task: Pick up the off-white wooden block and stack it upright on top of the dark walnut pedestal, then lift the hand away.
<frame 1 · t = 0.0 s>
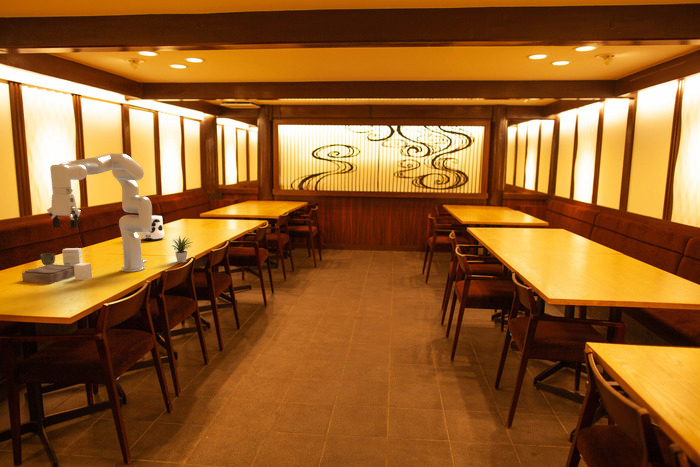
hand: (65, 227, 214), 31 cm above the table, tool pointing down, fingers open, 9 cm apart
block: (83, 278, 242), on the table
milk container: (152, 239, 356), on the table
pedestal: (52, 277, 243), on the table
cup: (49, 267, 266), on the table
ink box: (73, 269, 263), on the table
house plant: (181, 262, 283), on the table
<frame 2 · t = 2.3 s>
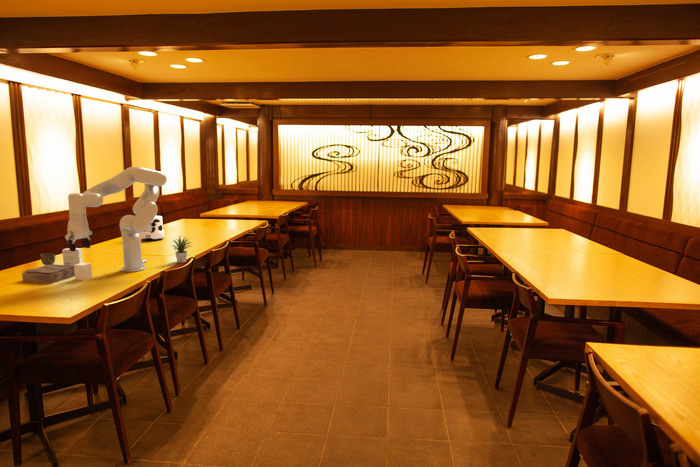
hand: (80, 249, 239), 16 cm above the table, tool pointing down, fingers open, 9 cm apart
nothing on the table moved.
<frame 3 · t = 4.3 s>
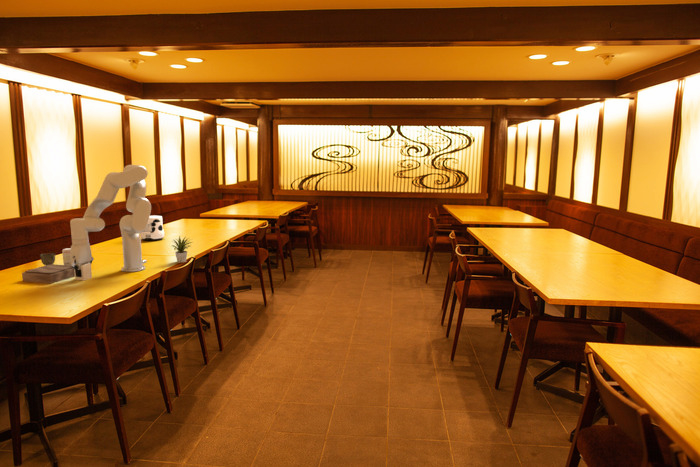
hand: (83, 274, 242), 2 cm above the table, tool pointing down, fingers closed on block, 5 cm apart
block: (83, 278, 242), on the table, touching gripper
everything else where it was.
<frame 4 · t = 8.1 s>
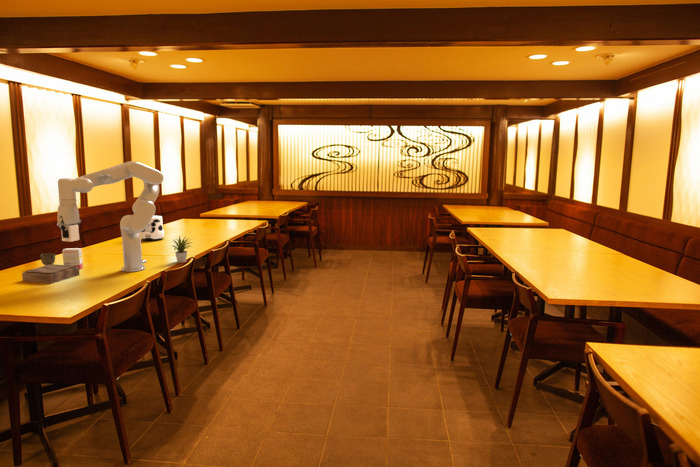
hand: (70, 236, 238), 23 cm above the table, tool pointing down, fingers closed on block, 5 cm apart
block: (70, 240, 239), point 21 cm above the table, touching gripper
everything else where it was.
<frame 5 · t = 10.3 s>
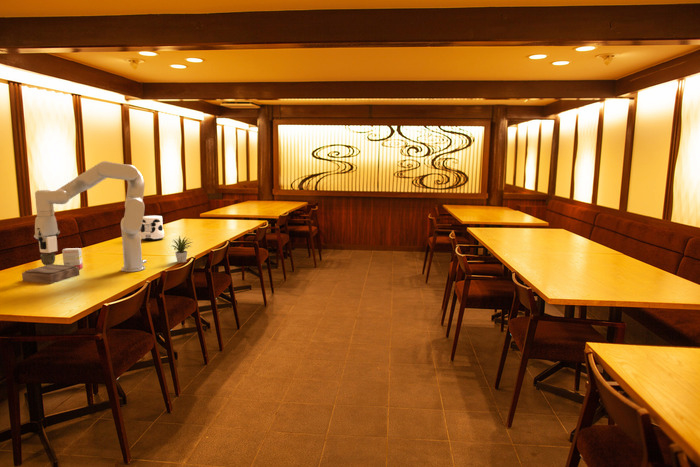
hand: (48, 247, 240), 17 cm above the table, tool pointing down, fingers closed on block, 5 cm apart
block: (48, 251, 240), point 14 cm above the table, touching gripper
everything else where it was.
when the fingers open (9 cm above the table, at t = 12.1 s): block drops 1 cm, resting on pedestal.
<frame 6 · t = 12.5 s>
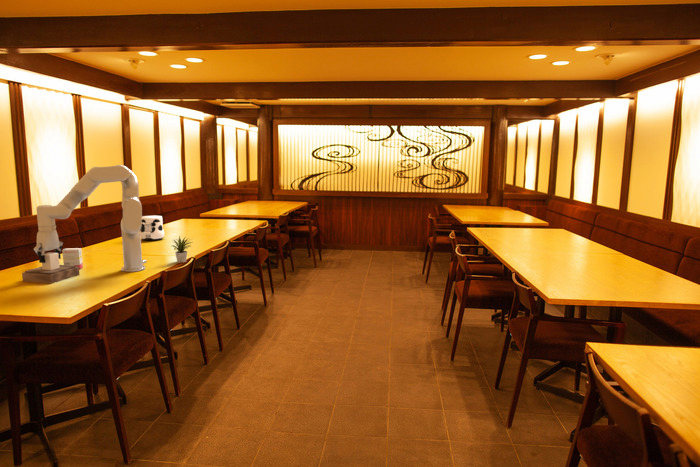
hand: (50, 260, 241), 9 cm above the table, tool pointing down, fingers open, 9 cm apart
block: (51, 268, 242), point 5 cm above the table, touching pedestal
everything else where it was.
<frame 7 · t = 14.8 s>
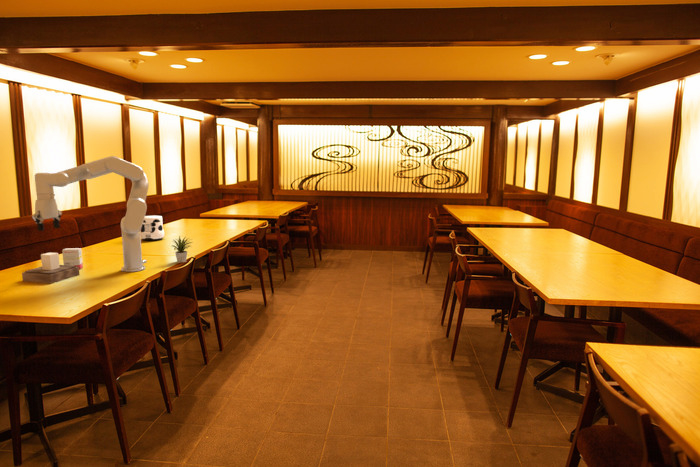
hand: (49, 229, 239), 26 cm above the table, tool pointing down, fingers open, 9 cm apart
nothing on the table moved.
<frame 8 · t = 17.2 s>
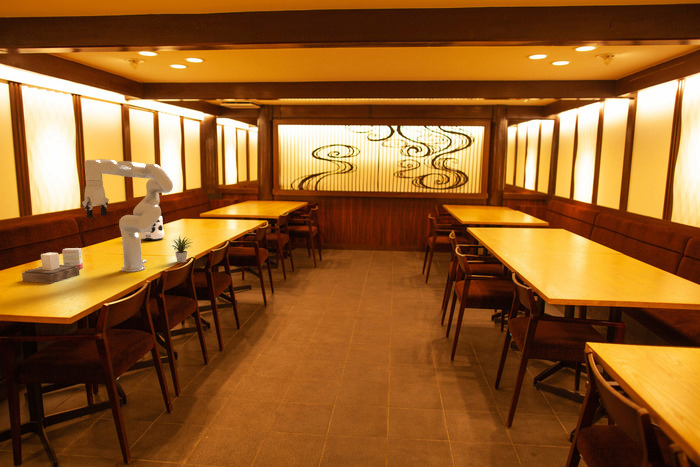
hand: (97, 216, 239), 33 cm above the table, tool pointing down, fingers open, 9 cm apart
nothing on the table moved.
at the end: block inside the target area on the pedestal (0.0 cm from its centre), point 5.2 cm above the pedestal's base; block tilted 0°; the gripper is holding nothing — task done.
